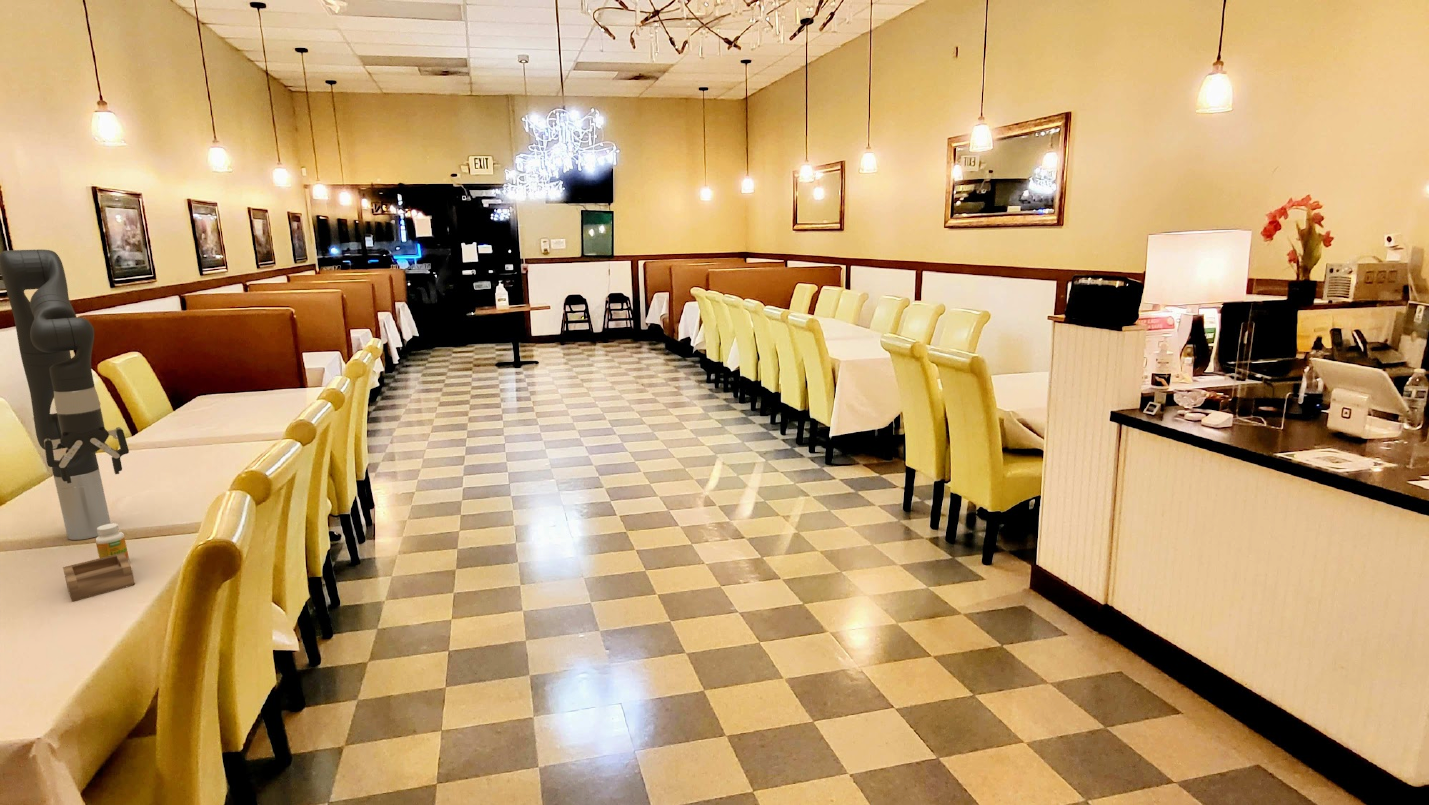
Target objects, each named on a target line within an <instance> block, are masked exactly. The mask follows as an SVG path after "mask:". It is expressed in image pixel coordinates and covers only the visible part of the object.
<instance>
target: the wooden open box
mask: <svg viewBox="0 0 1429 805" xmlns="http://www.w3.org/2000/svg"><path fill="white" fill-rule="evenodd" d="M129 561H130V560H129ZM129 561H128V560H127V558H126V556H125V554H124V552H123V553H119V554H115V555H111V556H107V557H103V558H99V557H98V558H96V559H91V560H87V561H83V562H79V563H75V564H71V565H68V566H67V565H66V566H62V569H63V574H64V578H65V583H66V586H67V590H68V593H69V597H70V600H71V602H75V601H80V600H83V599H86V598H90V597H94V596H98V595H101V594H105V592H106V593H109V592H112V590H113V591H116V590H115V589H117V590H120V588H121V589H124V588H127V587H126V586H128V587H130V586H131V585H132V586H134V585H133V584H136V583H135V579H134V574H133V569H132V565H131V563H130V562H129ZM132 586H131V587H132ZM123 587H124V588H123ZM108 591H109V592H108Z"/></svg>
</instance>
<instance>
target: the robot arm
mask: <svg viewBox="0 0 1429 805" xmlns="http://www.w3.org/2000/svg"><path fill="white" fill-rule="evenodd" d="M0 273H1V276H2V280H3V284H4V287H5V290H6V294H7V297H8V301H9V304H10V309H11V312H12V314H13V315H12V316H13V318H14V324H15V329H16V331H15V332H16V335H17V343H18V348H19V354H20V357H21V363H22V366H23V370H24V374H25V378H26V381H27V385H28V390H29V395H30V400H31V407H32V414H33V422H34V429H35V435H36V438H37V442H38V445H39V446H40V447H41V448H42V449H43V450H44V452H45V459H46V464H47V466H48V467H49V468H51V471H52V475H53V478H54V484H55V487H56V493H57V496H58V500H59V501H58V502H59V505H60V511H61V514H62V519H63V523H64V528H65V532H66V536H67V539H68V540H73V541H80V540H87V539H92V538H95V537H96V538H97V537H98V536H100V535H99V534H98V532H97V528H98V527H100V526H102V525H106V524H112V523H111V518H110V513H109V509H108V505H107V499H106V495H105V490H104V485H103V481H102V476H101V472H100V468H99V463H98V459H97V454H96V453H97V452H98V451H100V450H101V451H103V452H105V454H108V455H109V456H111V462H112V467H113V472H114V474H115V475H119V474H120V472H121V471H123V466H122V460H121V457H122V456H124V455H128V454H129V453H130V451H129V446H128V443H127V439H126V435H125V432H124V430H123V429H122V428H121V426H118V427H116V428H115V429H110V430H107V429H106V427H105V422H104V418H103V413H102V412H103V411H102V409H101V401H100V400H99V394H98V391H97V390H96V386H95V382H94V377H93V376H94V375H93V371H92V351H93V346H94V342H95V341H94V340H95V329H94V327H93V325H92V323H91V322H90V320H88V319H87V318H84V317H79V316H78V317H77V315H76V312H75V310H74V308H73V305H72V303H71V301H70V298H69V291H68V290H69V288H68V282H67V277H66V273H65V269H64V265H63V262H62V260H61V258H60V256H59V255H58V254H57V252H55V251H53V250H50V249H16V250H15V249H12V250H11V249H10V250H9V249H8V250H3V251H1V252H0ZM27 290H28V291H29V290H36V291H35V292H34V293H33V294H32V296H31V298H30V299H29V298H28V297H27V296H26V293H25V291H27ZM71 351H76V353H75V354H74V356H71V355H72V354H71ZM53 400H54V406H55V407H54V408H55V411H56V413H55V412H54V413H51V408H52V402H53ZM110 436H112V438H113V439H116V440H117V441H118V445H119V448H120V449H117V450H116V449H114V448H113V447H111V446H110V445H108V443H106V441H107V439H108V438H109V437H110ZM61 449H66V450H65V451H64V452H63V454H62V456H61V458H59V459H58V460H57V459H55V456H54V451H56V450H61Z"/></svg>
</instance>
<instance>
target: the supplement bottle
mask: <svg viewBox="0 0 1429 805" xmlns="http://www.w3.org/2000/svg"><path fill="white" fill-rule="evenodd" d="M97 532H98V534H99V535H100V536H96V539H95V545H96V549H97V555H98V559H99V558H103V557H107V556H111V555H115V554H119V553H123V552H124V554H125V556H126V558H127V560H128V561H130V559H129V553H128V552H129V551H128V548H127V542H126V537H125V534H124V533H123V532H122V531H120V527H119V524H118V523H116V522H113V523H111V524H106V525H102V526H100V527H98V528H97Z"/></svg>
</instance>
